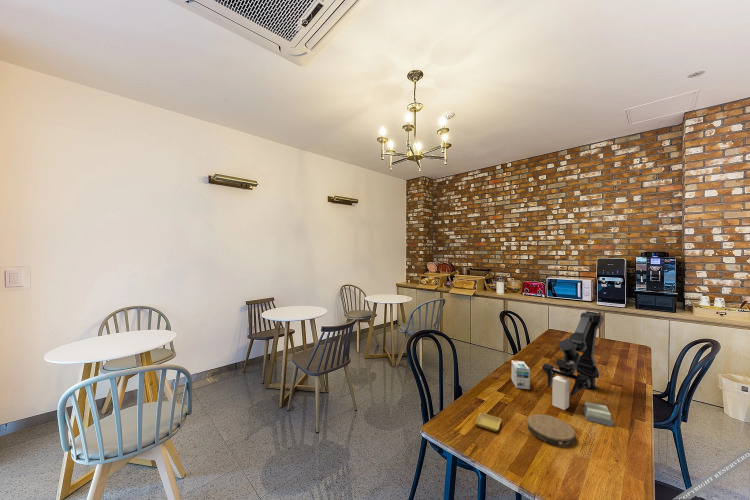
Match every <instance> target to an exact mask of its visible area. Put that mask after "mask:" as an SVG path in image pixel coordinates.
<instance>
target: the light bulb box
mask: <svg viewBox="0 0 750 500" xmlns="http://www.w3.org/2000/svg"><path fill="white" fill-rule="evenodd" d="M510 369H511V372H510V373H511V378H510V379H511V381H512V383H513V384H514V387H515V388H516V389H521V390H530V389H531V379H530V378H531V369H530V367H529V366H528V365H527V364H526V363H525V361H521V360H511V368H510Z"/></svg>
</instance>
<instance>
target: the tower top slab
mask: <svg viewBox="0 0 750 500" xmlns="http://www.w3.org/2000/svg"><path fill="white" fill-rule="evenodd" d="M584 406H585V408H586V411H587V414H588V416H592V417H596V418H600V419H605V420H609V421H611V418H612V416H611V412H610V411H609V408H608V406H607V405H604V404H598V403H594V402H589V401H584Z"/></svg>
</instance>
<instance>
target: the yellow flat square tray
mask: <svg viewBox="0 0 750 500" xmlns="http://www.w3.org/2000/svg"><path fill="white" fill-rule="evenodd" d="M501 423H502V418H500V417H497V416H494V415H491V414H487V413H484V412H479V414H478V416H477V418H476V421H475V424H476V425H477V426H478V427H480V428H483V429H487V430H489V431H493V432H498V431H499V430H500V426H501Z"/></svg>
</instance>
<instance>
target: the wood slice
mask: <svg viewBox="0 0 750 500" xmlns="http://www.w3.org/2000/svg"><path fill="white" fill-rule="evenodd" d="M527 430H528V431H529V433H530V434H531V435H532V436H534V438H537V440H540V441H542V442H544V443H546V444H548V445H550V446H551V445H552V446H556V447H561V448H562V447H563V448H564V447H565V448H566V447H571V446H573V445H574V444H575V442H576V433H575V429H574V428H573V426H571V425H570V424H569V423H568V422H566V421H564V420H562V419H560V418H557V417H555V416H553V415H548V414H543V413H542V414H541V413H537V414H532V415H529V416H528V418H527Z"/></svg>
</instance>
